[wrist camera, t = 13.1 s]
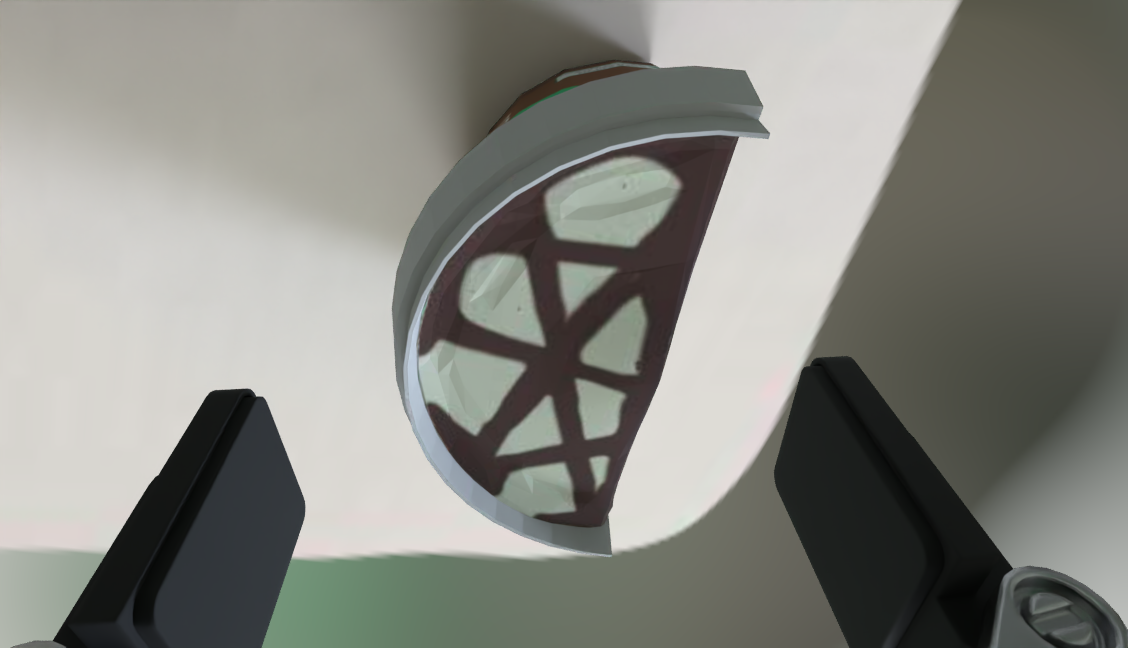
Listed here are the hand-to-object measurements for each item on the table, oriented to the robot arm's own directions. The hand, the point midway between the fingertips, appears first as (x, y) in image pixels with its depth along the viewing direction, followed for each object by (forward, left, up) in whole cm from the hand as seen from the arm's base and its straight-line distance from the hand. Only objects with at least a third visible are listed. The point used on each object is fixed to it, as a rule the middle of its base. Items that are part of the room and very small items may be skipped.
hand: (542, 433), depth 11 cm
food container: (0, 0, -12) cm, 12 cm away
